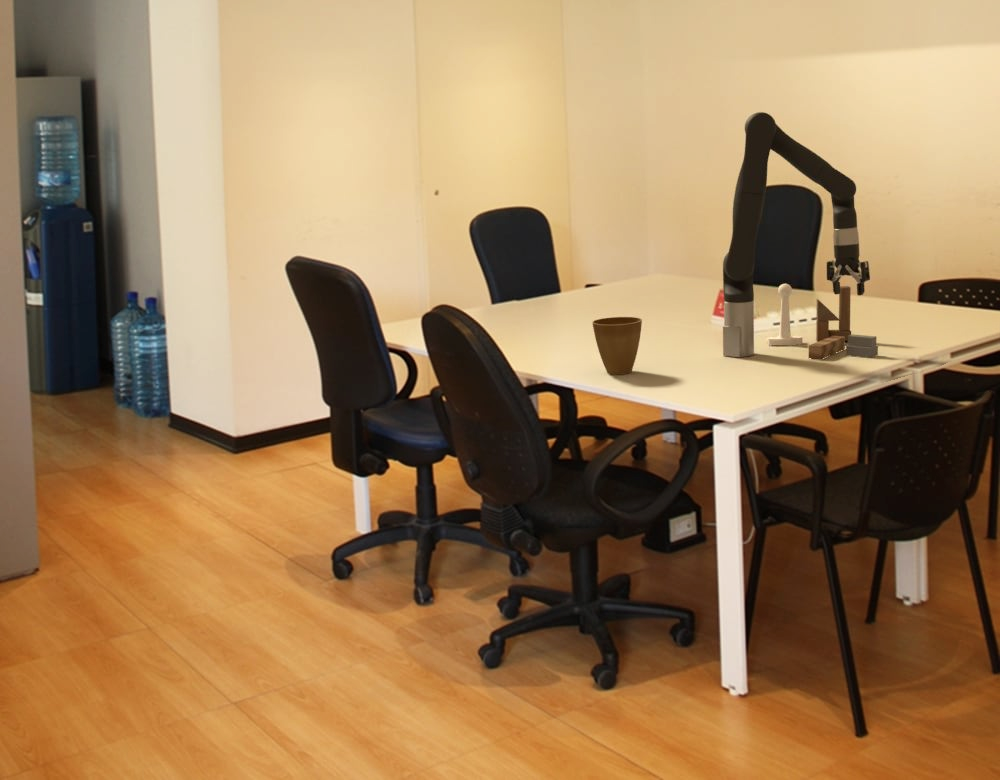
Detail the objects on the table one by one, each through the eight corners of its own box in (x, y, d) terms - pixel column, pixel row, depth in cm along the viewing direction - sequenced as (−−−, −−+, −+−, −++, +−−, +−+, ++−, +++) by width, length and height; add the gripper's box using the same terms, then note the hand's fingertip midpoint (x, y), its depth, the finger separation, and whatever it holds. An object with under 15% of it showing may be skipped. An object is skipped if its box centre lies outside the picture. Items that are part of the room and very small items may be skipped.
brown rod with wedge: (816, 340, 412) (816, 286, 408) (849, 340, 411) (850, 285, 407) (817, 342, 409) (817, 288, 405) (851, 342, 407) (851, 287, 403)
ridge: (869, 357, 381) (870, 338, 380) (846, 355, 386) (846, 336, 385) (877, 355, 384) (878, 336, 383) (854, 352, 390) (854, 333, 388)
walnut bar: (820, 360, 382) (820, 346, 381) (808, 359, 384) (808, 345, 383) (844, 350, 395) (844, 336, 394) (832, 349, 398) (832, 335, 397)
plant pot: (639, 366, 386) (637, 315, 382) (646, 375, 371) (645, 322, 368) (591, 368, 385) (589, 317, 382) (596, 378, 371) (595, 325, 367)
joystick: (770, 346, 407) (769, 285, 402) (764, 342, 414) (763, 282, 410) (803, 344, 407) (803, 283, 403) (797, 340, 414) (797, 280, 410)
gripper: (819, 244, 387) (822, 295, 390) (858, 244, 376) (861, 297, 379) (834, 240, 391) (837, 291, 395) (873, 240, 380) (875, 293, 383)
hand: (848, 294), depth 387 cm, fingers open, 8 cm apart
